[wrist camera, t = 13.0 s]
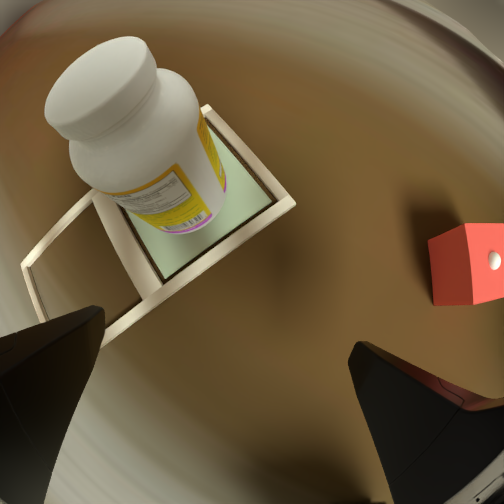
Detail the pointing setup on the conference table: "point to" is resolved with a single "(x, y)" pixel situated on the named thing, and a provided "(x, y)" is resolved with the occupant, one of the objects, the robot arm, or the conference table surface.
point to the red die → (468, 264)
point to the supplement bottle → (139, 136)
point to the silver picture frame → (176, 245)
